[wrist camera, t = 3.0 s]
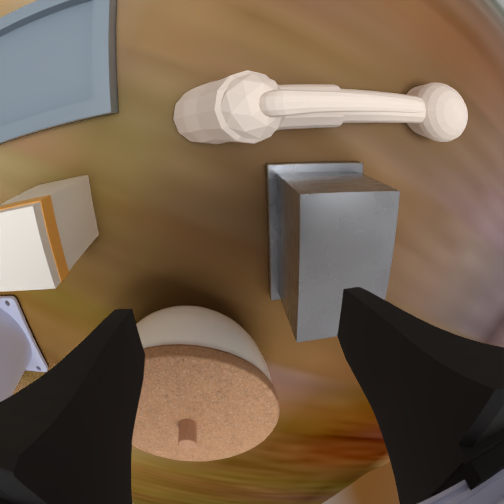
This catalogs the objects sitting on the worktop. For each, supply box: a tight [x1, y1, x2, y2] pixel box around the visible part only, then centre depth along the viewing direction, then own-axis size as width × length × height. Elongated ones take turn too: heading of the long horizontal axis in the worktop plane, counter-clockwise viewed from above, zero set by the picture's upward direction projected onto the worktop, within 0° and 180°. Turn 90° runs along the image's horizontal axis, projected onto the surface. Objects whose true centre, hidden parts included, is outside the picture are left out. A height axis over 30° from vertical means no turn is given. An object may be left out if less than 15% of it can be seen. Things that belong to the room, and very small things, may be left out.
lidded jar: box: [132, 305, 280, 461], centre depth 19 cm, size 11×11×9 cm
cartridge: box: [0, 175, 99, 292], centre depth 15 cm, size 4×4×7 cm
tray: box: [0, 0, 119, 144], centre depth 13 cm, size 15×9×2 cm, turn 93°
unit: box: [266, 161, 400, 342], centre depth 18 cm, size 6×9×6 cm, turn 3°
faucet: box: [173, 70, 468, 144], centre depth 15 cm, size 4×18×10 cm, turn 95°
